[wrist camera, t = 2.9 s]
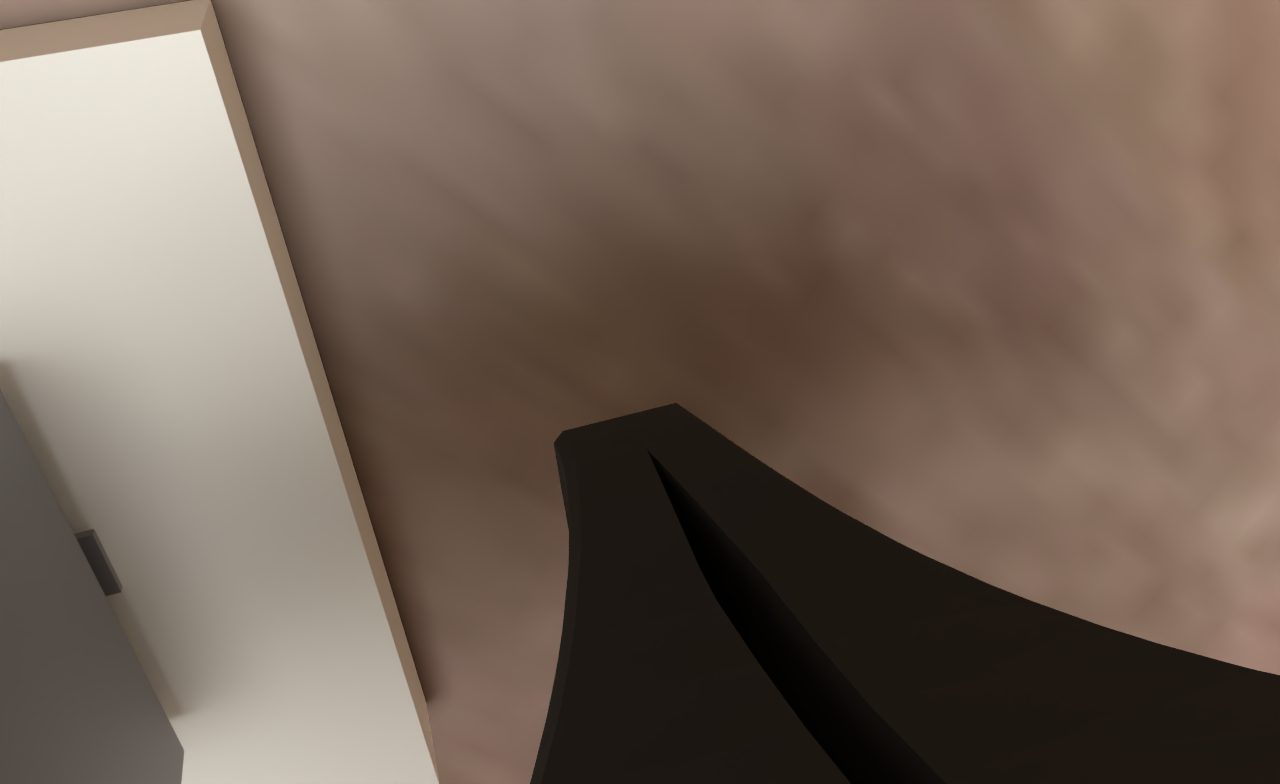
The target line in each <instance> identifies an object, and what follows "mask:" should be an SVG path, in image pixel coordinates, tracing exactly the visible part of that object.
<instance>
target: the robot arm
mask: <svg viewBox="0 0 1280 784" xmlns="http://www.w3.org/2000/svg"><path fill="white" fill-rule="evenodd" d="M554 448H555V453H556V459H557V465H558V471H559V476H560V482H561V488H562V494H563V499H564V505H565V511H566V517H567V522H568V528H569V567H568V580H567V590H566V600H565V610H564V620H563V630H562V637H561V644H560V650H559V657H558V663H557V669H556V674H555V680H554V685H553V690H552V695H551V700H550V705H549V710H548V714H547V719H546V723H545V727H544V731H543V735H542V739H541V743H540V747H539V751H538V755H537V759H536V763H535V767H534V771H533V775H532V779H531V782H530V784H1280V675H1276V674H1271V673H1266V672H1262V671H1257V670H1253V669H1249V668H1245V667H1241V666H1237V665H1234V664H1230V663H1226V662H1223V661H1219V660H1216V659H1212V658H1208V657H1205V656H1201V655H1197V654H1194V653H1190V652H1187V651H1183V650H1179V649H1176V648H1172V647H1169V646H1165V645H1161V644H1158V643H1154V642H1151V641H1148V640H1145V639H1142V638H1138V637H1135V636H1132V635H1129V634H1126V633H1122V632H1119V631H1116V630H1113V629H1110V628H1106V627H1103V626H1100V625H1097V624H1095V623H1092V622H1089V621H1086V620H1083V619H1081V618H1078V617H1075V616H1072V615H1069V614H1067V613H1064V612H1061V611H1058V610H1055V609H1053V608H1050V607H1047V606H1044V605H1041V604H1039V603H1036V602H1033V601H1030V600H1027V599H1025V598H1022V597H1020V596H1017V595H1015V594H1012V593H1010V592H1007V591H1005V590H1002V589H1000V588H997V587H995V586H992V585H990V584H987V583H985V582H983V581H981V580H978V579H976V578H974V577H972V576H969V575H967V574H965V573H963V572H960V571H958V570H956V569H954V568H951V567H949V566H947V565H945V564H943V563H940V562H938V561H936V560H934V559H931V558H929V557H927V556H925V555H923V554H921V553H919V552H917V551H915V550H912V549H910V548H908V547H906V546H904V545H902V544H900V543H898V542H896V541H894V540H892V539H891V538H889V537H887V536H885V535H883V534H881V533H880V532H878V531H876V530H874V529H872V528H870V527H868V526H867V525H865V524H863V523H861V522H859V521H857V520H856V519H854V518H852V517H850V516H848V515H846V514H845V513H843V512H841V511H839V510H838V509H836V508H834V507H833V506H831V505H829V504H827V503H826V502H824V501H822V500H821V499H819V498H817V497H816V496H814V495H813V494H811V493H810V492H808V491H806V490H805V489H803V488H802V487H800V486H798V485H797V484H795V483H794V482H792V481H790V480H789V479H787V478H786V477H784V476H782V475H781V474H779V473H778V472H776V471H775V470H773V469H772V468H770V467H769V466H767V465H766V464H764V463H763V462H761V461H760V460H758V459H757V458H755V457H754V456H752V455H751V454H749V453H748V452H746V451H745V450H744V449H742V448H741V447H739V446H738V445H736V444H735V443H733V442H732V441H730V440H729V439H728V438H726V437H725V436H723V435H722V434H720V433H719V432H718V431H716V430H715V429H713V428H712V427H710V426H709V425H708V424H706V423H705V422H703V421H702V420H700V419H699V418H697V417H696V416H695V415H693V414H692V413H690V412H689V411H687V410H686V409H684V408H683V407H681V406H680V405H678V404H677V403H674V404H670V405H666V406H662V407H658V408H654V409H650V410H646V411H642V412H638V413H634V414H630V415H626V416H622V417H618V418H614V419H610V420H606V421H602V422H598V423H594V424H590V425H586V426H582V427H578V428H574V429H570V430H566V431H563V432H562V433H561V434H560V436H559V437H558V438H557V440H556V441H555V442H554Z"/></svg>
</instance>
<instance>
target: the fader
mask: <svg viewBox="0 0 1280 784" xmlns="http://www.w3.org/2000/svg"><path fill="white" fill-rule="evenodd" d="M183 760H184V749H183V747H182V745H181V743H180V741H179V739H178V737H177V735H176V733H175V731H174V729H173V727H172V725H171V723H170V721H169V719H168V718H167V716H166V714H165V712H164V710H163V708H162V706H161V704H160V702H159V700H158V698H157V696H156V694H155V692H154V690H153V688H152V686H151V684H150V682H149V680H148V678H147V676H146V674H145V672H144V670H143V668H142V667H141V665H140V663H139V661H138V659H137V657H136V655H135V653H134V651H133V649H132V647H131V645H130V643H129V641H128V639H127V637H126V635H125V633H124V631H123V629H122V627H121V625H120V623H119V621H118V619H117V617H116V616H115V614H114V612H113V610H112V608H111V606H110V604H109V602H108V600H107V598H106V596H105V594H104V592H103V590H102V588H101V586H100V584H99V582H98V580H97V578H96V576H95V574H94V572H93V570H92V568H91V566H90V565H89V563H88V561H87V559H86V557H85V555H84V553H83V551H82V549H81V547H80V545H79V543H78V541H77V539H76V537H75V535H74V533H73V531H72V529H71V527H70V525H69V523H68V521H67V519H66V517H65V515H64V514H63V512H62V510H61V508H60V506H59V504H58V502H57V500H56V498H55V496H54V494H53V492H52V490H51V488H50V486H49V484H48V482H47V480H46V478H45V476H44V474H43V472H42V470H41V468H40V466H39V464H38V463H37V461H36V459H35V457H34V455H33V453H32V451H31V449H30V447H29V445H28V443H27V441H26V439H25V437H24V435H23V433H22V431H21V429H20V427H19V425H18V423H17V421H16V419H15V417H14V415H13V413H12V412H11V410H10V408H9V406H8V404H7V402H6V400H5V398H4V396H3V394H2V392H1V390H0V784H181V781H182V770H183Z"/></svg>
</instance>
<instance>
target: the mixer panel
mask: <svg viewBox="0 0 1280 784" xmlns="http://www.w3.org/2000/svg"><path fill="white" fill-rule="evenodd" d="M0 390H1V392H2V394H3V396H4V398H5V400H6V402H7V404H8V406H9V408H10V410H11V412H12V413H13V415H14V417H15V419H16V421H17V423H18V425H19V427H20V429H21V431H22V433H23V435H24V437H25V439H26V441H27V443H28V445H29V447H30V449H31V451H32V453H33V455H34V457H35V459H36V461H37V463H38V464H39V466H40V468H41V470H42V472H43V474H44V476H45V478H46V480H47V482H48V484H49V486H50V488H51V490H52V492H53V494H54V496H55V498H56V500H57V502H58V504H59V506H60V508H61V510H62V512H63V514H64V515H65V517H66V519H67V521H68V523H69V525H70V527H71V529H72V531H73V533H74V535H75V537H76V539H77V541H78V543H79V545H80V547H81V549H82V551H83V553H84V555H85V557H86V559H87V561H88V563H89V565H90V566H91V568H92V570H93V572H94V574H95V576H96V578H97V580H98V582H99V584H100V586H101V588H102V590H103V592H104V594H105V596H106V598H107V600H108V602H109V604H110V606H111V608H112V610H113V612H114V614H115V616H116V617H117V619H118V621H119V623H120V625H121V627H122V629H123V631H124V633H125V635H126V637H127V639H128V641H129V643H130V645H131V647H132V649H133V651H134V653H135V655H136V657H137V659H138V661H139V663H140V665H141V667H142V668H143V670H144V672H145V674H146V676H147V678H148V680H149V682H150V684H151V686H152V688H153V690H154V692H155V694H156V696H157V698H158V700H159V702H160V704H161V706H162V708H163V710H164V712H165V714H166V716H167V718H168V719H169V721H170V723H171V725H172V727H173V729H174V731H175V733H176V735H177V737H178V739H179V741H180V743H181V745H182V747H183V749H184V760H183V770H182V781H181V784H439V777H438V771H437V765H436V759H435V752H434V746H433V740H432V734H431V727H430V721H429V715H428V709H427V704H426V700H425V697H424V694H423V691H422V687H421V684H420V681H419V678H418V674H417V671H416V668H415V665H414V661H413V658H412V655H411V651H410V648H409V645H408V642H407V638H406V635H405V632H404V629H403V625H402V622H401V619H400V616H399V612H398V609H397V606H396V603H395V599H394V596H393V593H392V590H391V586H390V583H389V580H388V576H387V573H386V570H385V567H384V563H383V560H382V557H381V554H380V550H379V547H378V544H377V541H376V537H375V534H374V531H373V528H372V524H371V521H370V518H369V514H368V511H367V508H366V505H365V501H364V498H363V495H362V492H361V488H360V485H359V482H358V479H357V475H356V472H355V469H354V466H353V462H352V459H351V456H350V453H349V449H348V446H347V443H346V439H345V436H344V433H343V430H342V426H341V423H340V420H339V417H338V413H337V410H336V407H335V404H334V400H333V397H332V394H331V391H330V387H329V384H328V381H327V378H326V374H325V371H324V368H323V364H322V361H321V358H320V355H319V351H318V348H317V345H316V342H315V338H314V335H313V332H312V329H311V325H310V322H309V319H308V316H307V312H306V309H305V306H304V302H303V299H302V296H301V293H300V289H299V286H298V283H297V280H296V276H295V273H294V270H293V267H292V263H291V260H290V257H289V254H288V250H287V247H286V244H285V241H284V237H283V234H282V231H281V227H280V224H279V221H278V218H277V214H276V211H275V208H274V205H273V201H272V198H271V195H270V192H269V188H268V185H267V182H266V179H265V175H264V172H263V169H262V166H261V162H260V159H259V156H258V152H257V149H256V146H255V143H254V139H253V136H252V133H251V130H250V126H249V123H248V120H247V117H246V113H245V110H244V107H243V104H242V100H241V97H240V94H239V90H238V87H237V84H236V81H235V77H234V74H233V71H232V68H231V64H230V61H229V58H228V55H227V51H226V48H225V45H224V42H223V38H222V35H221V32H220V29H219V25H218V22H217V19H216V15H215V12H214V9H213V6H212V2H211V0H191V1H185V2H178V3H172V4H165V5H159V6H153V7H146V8H140V9H133V10H127V11H120V12H114V13H108V14H101V15H95V16H88V17H82V18H75V19H69V20H63V21H56V22H50V23H43V24H37V25H30V26H24V27H17V28H11V29H5V30H0Z"/></svg>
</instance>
